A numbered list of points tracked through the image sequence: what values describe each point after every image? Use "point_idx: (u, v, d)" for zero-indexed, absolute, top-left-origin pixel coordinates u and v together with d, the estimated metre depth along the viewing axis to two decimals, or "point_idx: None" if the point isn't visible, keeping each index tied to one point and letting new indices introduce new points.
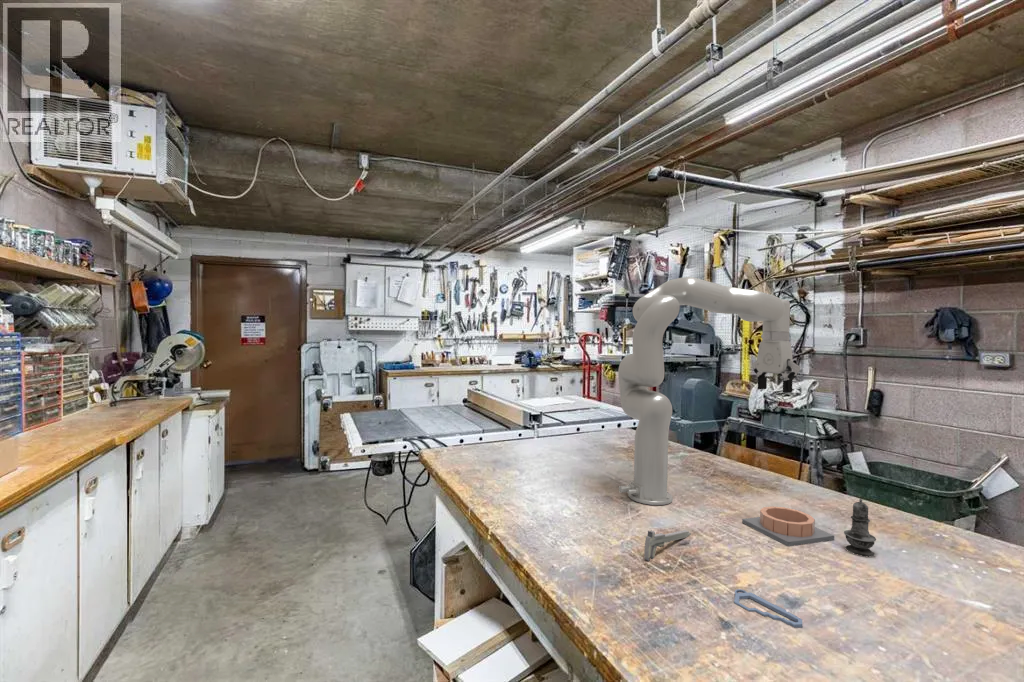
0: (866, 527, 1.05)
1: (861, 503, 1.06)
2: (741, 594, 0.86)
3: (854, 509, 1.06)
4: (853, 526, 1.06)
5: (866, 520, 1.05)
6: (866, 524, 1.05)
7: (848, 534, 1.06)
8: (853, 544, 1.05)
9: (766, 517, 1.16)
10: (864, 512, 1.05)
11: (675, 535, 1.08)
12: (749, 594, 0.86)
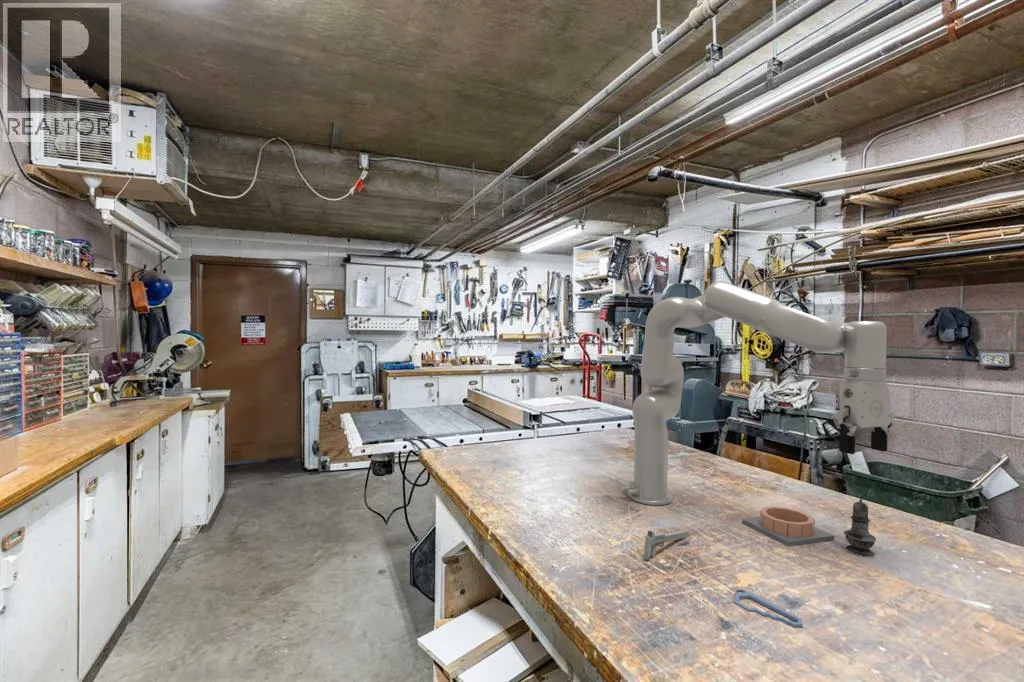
0: (866, 527, 1.05)
1: (861, 503, 1.06)
2: (741, 594, 0.86)
3: (854, 509, 1.06)
4: (853, 526, 1.06)
5: (866, 520, 1.05)
6: (866, 524, 1.05)
7: (848, 534, 1.06)
8: (853, 544, 1.05)
9: (766, 517, 1.16)
10: (864, 512, 1.05)
11: (675, 535, 1.08)
12: (749, 594, 0.86)
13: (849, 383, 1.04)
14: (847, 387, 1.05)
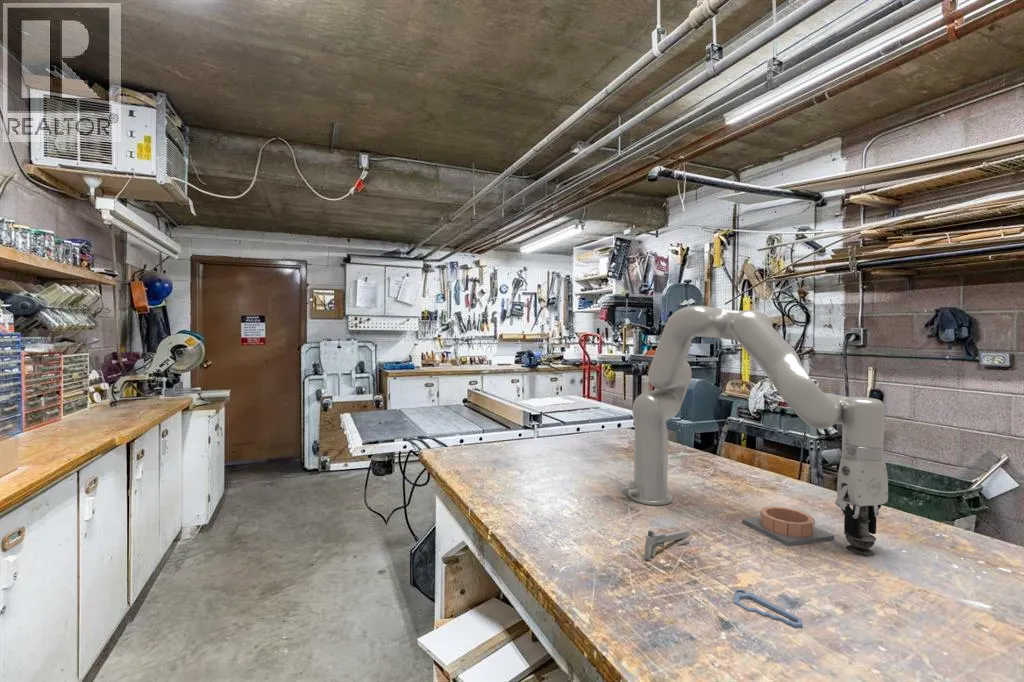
0: (866, 527, 1.05)
1: None
2: (741, 594, 0.86)
3: None
4: None
5: (866, 520, 1.05)
6: (866, 524, 1.05)
7: (848, 534, 1.06)
8: (853, 544, 1.05)
9: (766, 517, 1.16)
10: (864, 512, 1.05)
11: (675, 535, 1.08)
12: (749, 594, 0.86)
13: (847, 460, 1.05)
14: (845, 464, 1.05)
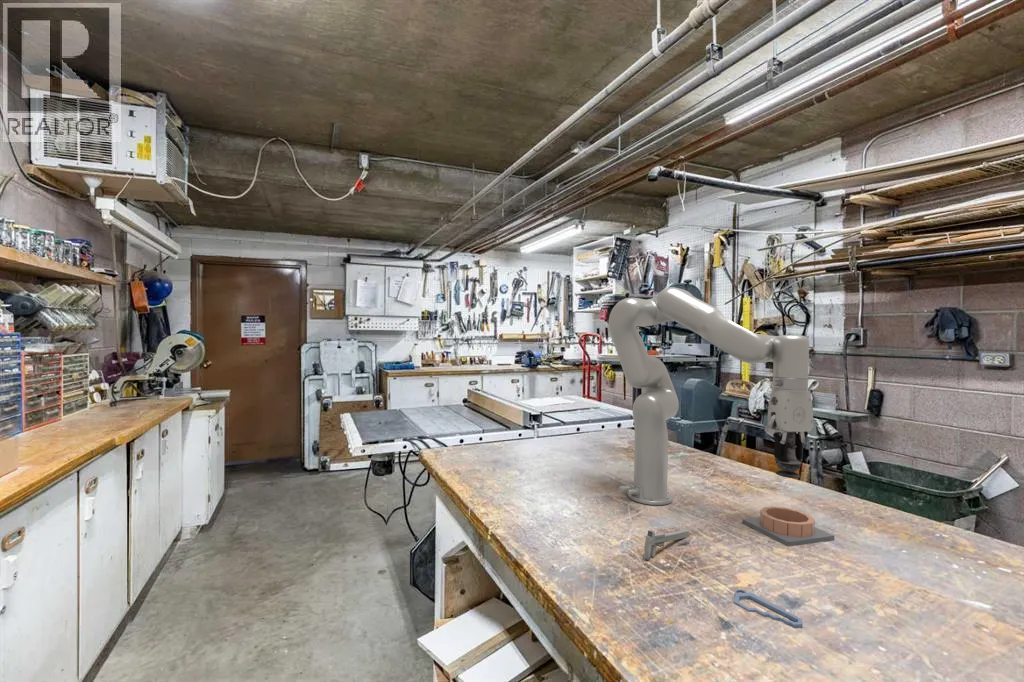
0: (793, 452, 1.15)
1: None
2: (741, 594, 0.86)
3: None
4: None
5: (793, 445, 1.15)
6: (793, 449, 1.15)
7: (777, 459, 1.16)
8: (781, 468, 1.15)
9: (766, 517, 1.16)
10: (791, 438, 1.15)
11: (675, 535, 1.08)
12: (749, 594, 0.86)
13: (775, 391, 1.15)
14: (773, 395, 1.15)
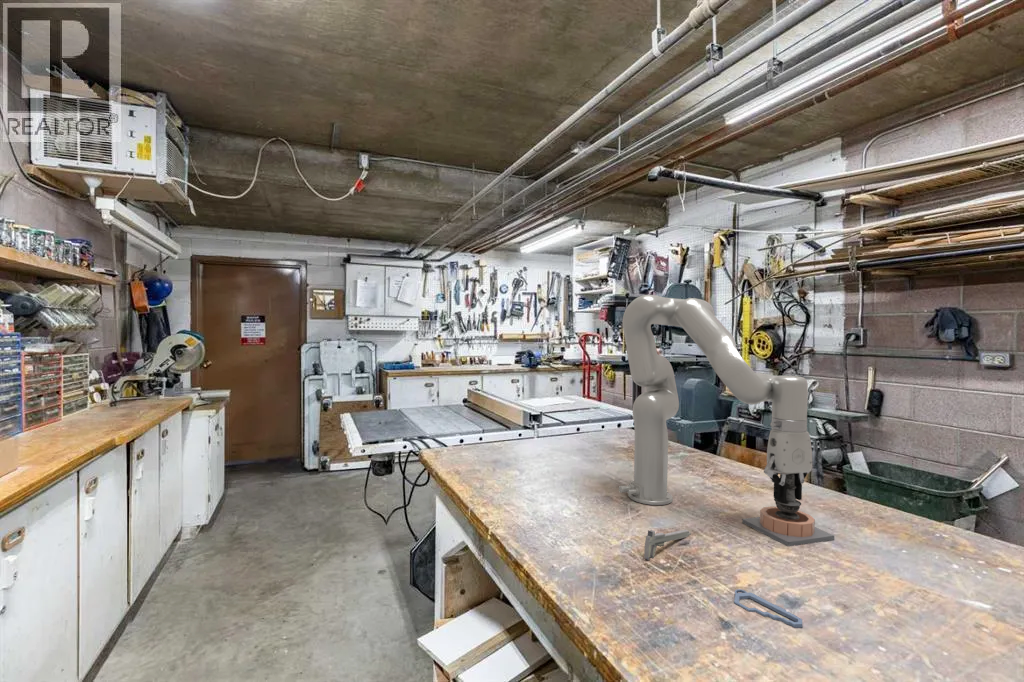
0: (792, 493, 1.15)
1: None
2: (741, 594, 0.86)
3: None
4: None
5: (792, 487, 1.15)
6: (792, 490, 1.15)
7: (777, 500, 1.17)
8: (781, 509, 1.16)
9: (766, 517, 1.16)
10: (790, 479, 1.15)
11: (675, 535, 1.08)
12: (749, 594, 0.86)
13: (774, 433, 1.15)
14: (772, 436, 1.15)
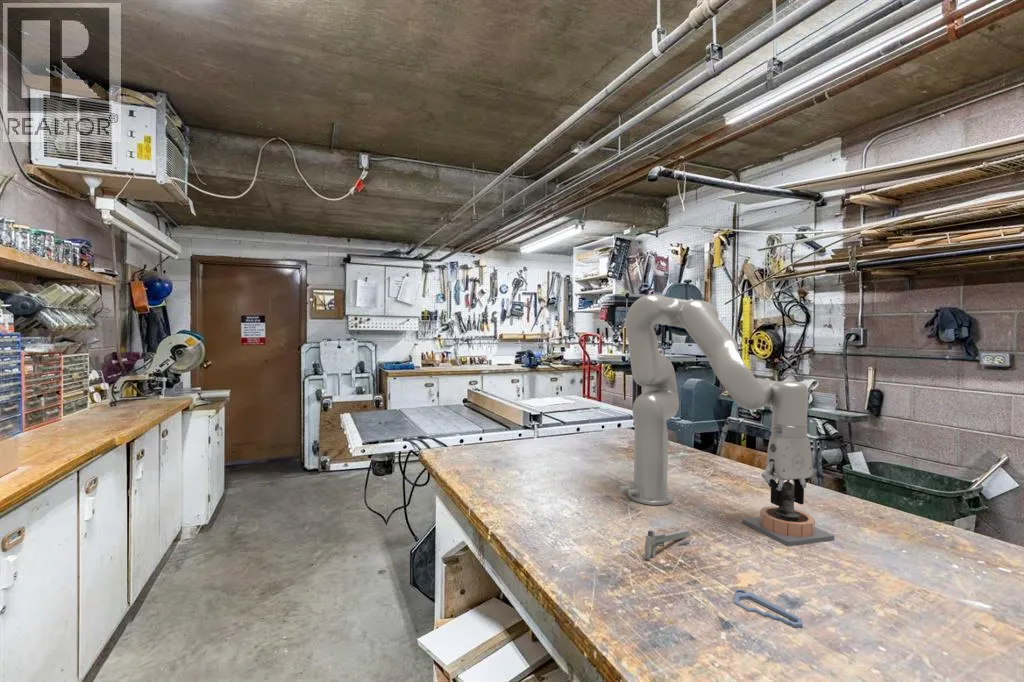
0: (791, 504, 1.15)
1: (788, 483, 1.16)
2: (741, 594, 0.86)
3: (782, 488, 1.17)
4: None
5: (792, 498, 1.15)
6: (792, 502, 1.15)
7: (776, 511, 1.17)
8: None
9: (766, 517, 1.16)
10: (790, 490, 1.15)
11: (675, 535, 1.08)
12: (749, 594, 0.86)
13: (774, 438, 1.15)
14: (772, 442, 1.15)
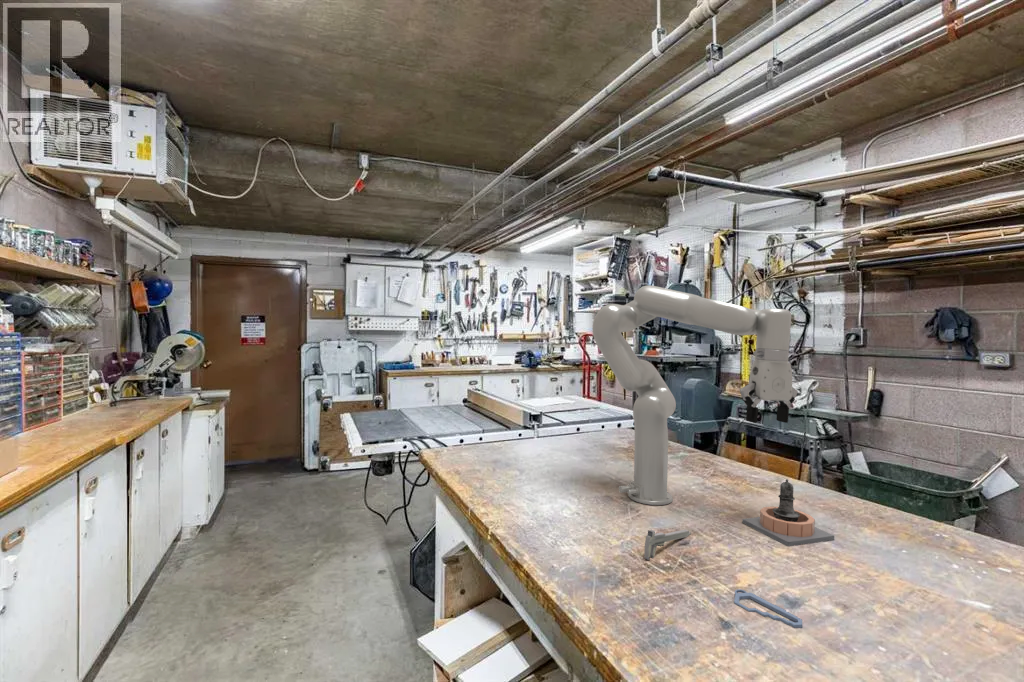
0: (791, 504, 1.15)
1: (787, 483, 1.16)
2: (741, 594, 0.86)
3: (781, 488, 1.17)
4: (780, 504, 1.17)
5: (791, 498, 1.15)
6: (791, 502, 1.15)
7: (775, 511, 1.17)
8: None
9: (766, 517, 1.16)
10: (789, 491, 1.15)
11: (675, 534, 1.08)
12: (749, 594, 0.86)
13: (756, 362, 1.21)
14: (755, 365, 1.21)
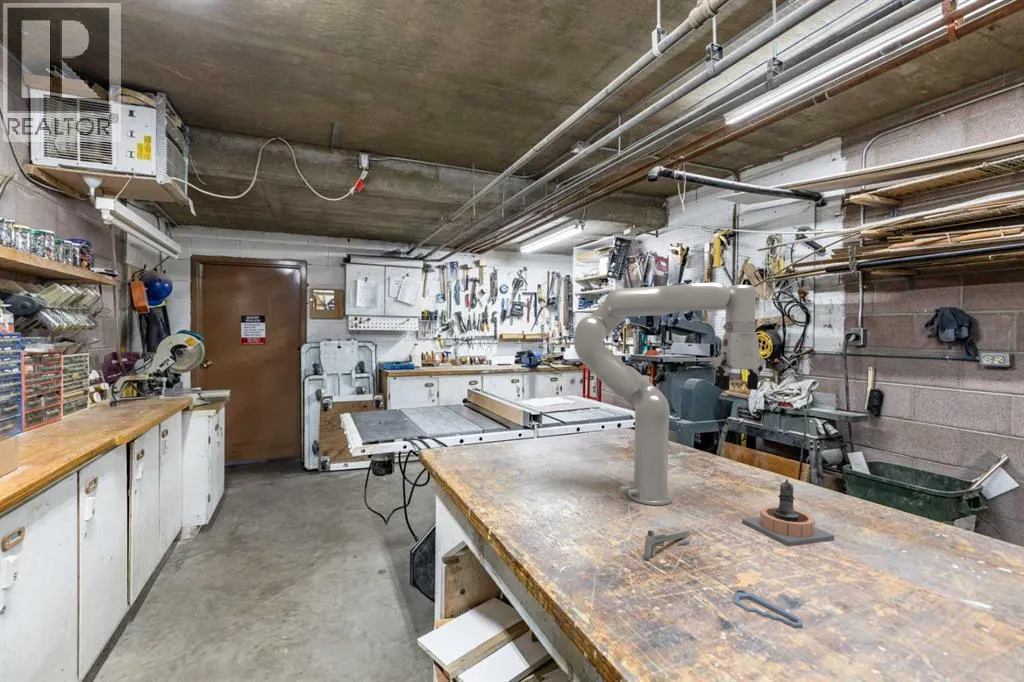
0: (791, 504, 1.15)
1: (787, 483, 1.16)
2: (741, 594, 0.86)
3: (781, 488, 1.16)
4: (780, 504, 1.17)
5: (791, 498, 1.15)
6: (791, 502, 1.15)
7: (775, 511, 1.17)
8: None
9: (766, 517, 1.16)
10: (789, 491, 1.15)
11: (675, 534, 1.08)
12: (749, 594, 0.86)
13: (726, 334, 1.31)
14: (725, 338, 1.31)
